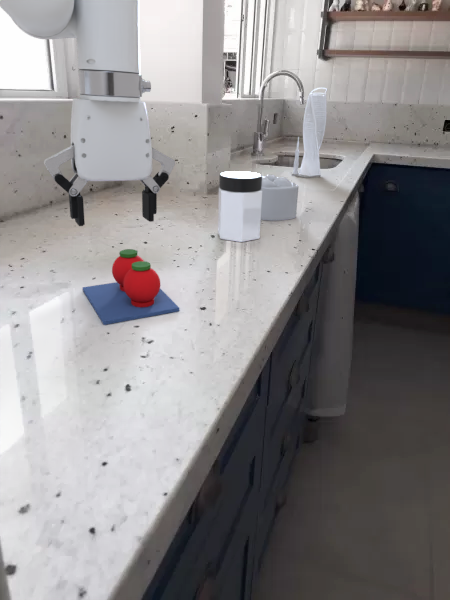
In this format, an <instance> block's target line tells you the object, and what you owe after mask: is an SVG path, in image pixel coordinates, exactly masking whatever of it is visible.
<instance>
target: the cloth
mask: <svg viewBox="0 0 450 600" xmlns="http://www.w3.org/2000/svg"><path fill="white" fill-rule="evenodd" d="M82 292H83V293H84V295H85V297H86V298H87V300H88V301H89V304H90V305H91V306H92V308H93V310H94V311H95V314H96V315H97V316H98V318H99V319H100V322H101V323H102V324H103V325H104V326H107V325H111V324H116V323H122V322H126V321H132V320H133V321H134V320H138V319H139V320H140V319H144V318H149V317H154V316H155V317H156V316H160V315H161V316H162V315H165V314H172V313H177V312H180V307H179V306H178V305H177V304H176V303H175V302H174V301H173V300H172V299H171V298H170V296H168V294H166V293H165V291H164V290H162V289H161V288H160V290H159V292H158V294H157V295H156V296H155V297H154V304H153V305H151V306H148V307H135V306H133V305H132V304H131V298H129V297H128V296H127V294H126V293H125V292H124V291H121V290H120V284H118V283H117V282H116V281H115V282H109V283H102V284H95V285H89V286H83V287H82Z"/></svg>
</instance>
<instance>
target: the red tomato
mask: <svg viewBox="0 0 450 600" xmlns="http://www.w3.org/2000/svg"><path fill="white" fill-rule="evenodd" d="M138 261H145V260H144V259H143V258H142V257H141V256H140V255H138V250H136V249H132V248H126V249H122V250H119V256H117V258H116V259H115V260H114V262H113V264H112V266H111V267H112V268H111V273H112V274H111V275H112V277H113V279H114V280H115V282H117V283H118V284H120V290H121V291H124V287H123V281H124V277H125V275H126V274H127V272H128V271H129V270H130V269H132V263H134V262H138ZM124 292H125V291H124Z"/></svg>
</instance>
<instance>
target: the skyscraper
mask: <svg viewBox="0 0 450 600" xmlns="http://www.w3.org/2000/svg"><path fill="white" fill-rule="evenodd" d="M317 90H325V91H324V92H317ZM327 92H328V87H324V86H319V87H316V88H313V89H312V90H311V91H310V92H309V94H308V96H307V100H306V104H305V108H304V115H303V121H302V142H303V143H302V144H303V151H304V153H303V156H302V160H301V164H300V163H299V160H300V159H299V158H300V149H299V147H300V136H297V142H296V149H295V150H294V160H293V161H294V162H293V172H292V173H291V176H294V177H300V178H304V179H311V178H319V177H321V162H320V161H321V160H320V149H321V147H322V144H323V140H324V137H325V133H326V127H327V118H328V116H327V115H328V114H327V112H328V104H327ZM299 166H300V167H299Z"/></svg>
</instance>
